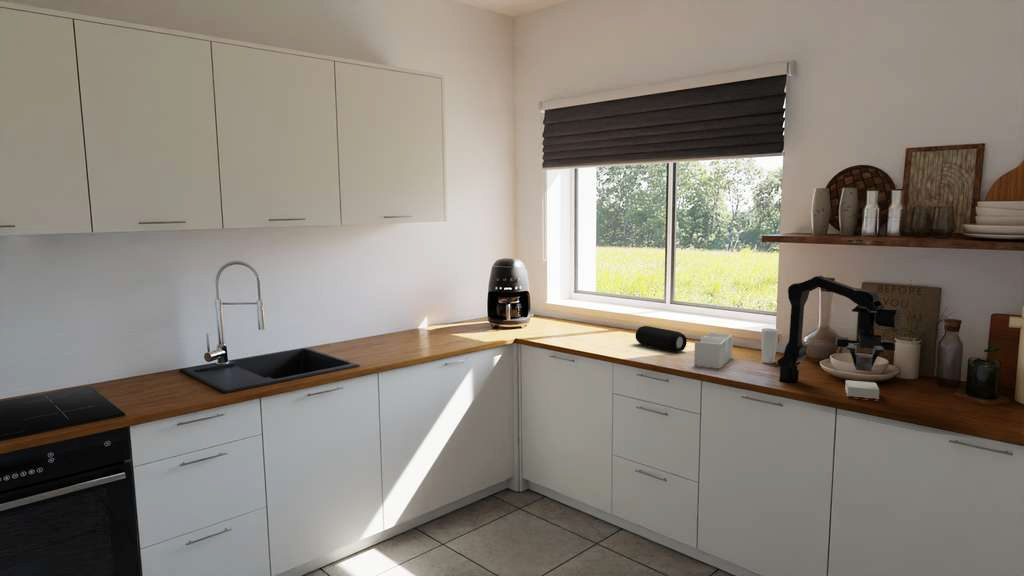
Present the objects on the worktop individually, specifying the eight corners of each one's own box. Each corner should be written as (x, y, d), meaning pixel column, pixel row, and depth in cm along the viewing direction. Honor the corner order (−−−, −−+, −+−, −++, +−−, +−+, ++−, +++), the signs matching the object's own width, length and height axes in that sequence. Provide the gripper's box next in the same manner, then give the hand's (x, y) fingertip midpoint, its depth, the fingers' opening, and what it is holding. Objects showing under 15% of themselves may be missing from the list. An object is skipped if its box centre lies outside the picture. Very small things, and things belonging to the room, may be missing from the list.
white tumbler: (758, 363, 289) (760, 330, 287) (762, 360, 294) (763, 327, 292) (774, 365, 285) (776, 331, 283) (777, 361, 291) (779, 329, 289)
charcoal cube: (856, 370, 236) (856, 356, 235) (854, 367, 240) (855, 353, 240) (871, 371, 234) (872, 357, 233) (869, 368, 239) (870, 355, 238)
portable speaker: (687, 351, 312) (688, 331, 311) (674, 354, 306) (674, 333, 305) (647, 343, 333) (647, 324, 331) (634, 345, 327) (634, 326, 325)
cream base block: (847, 397, 236) (848, 386, 235) (845, 390, 245) (845, 380, 245) (878, 400, 232) (879, 389, 232) (875, 393, 241) (875, 382, 241)
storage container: (719, 369, 279) (720, 344, 277) (694, 366, 284) (694, 341, 283) (731, 357, 300) (732, 334, 299) (707, 355, 306) (708, 332, 304)
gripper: (839, 326, 232) (836, 369, 233) (898, 330, 224) (895, 374, 226) (836, 321, 242) (834, 362, 244) (893, 325, 235) (890, 366, 236)
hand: (863, 366), depth 237 cm, fingers closed on charcoal cube, 5 cm apart
